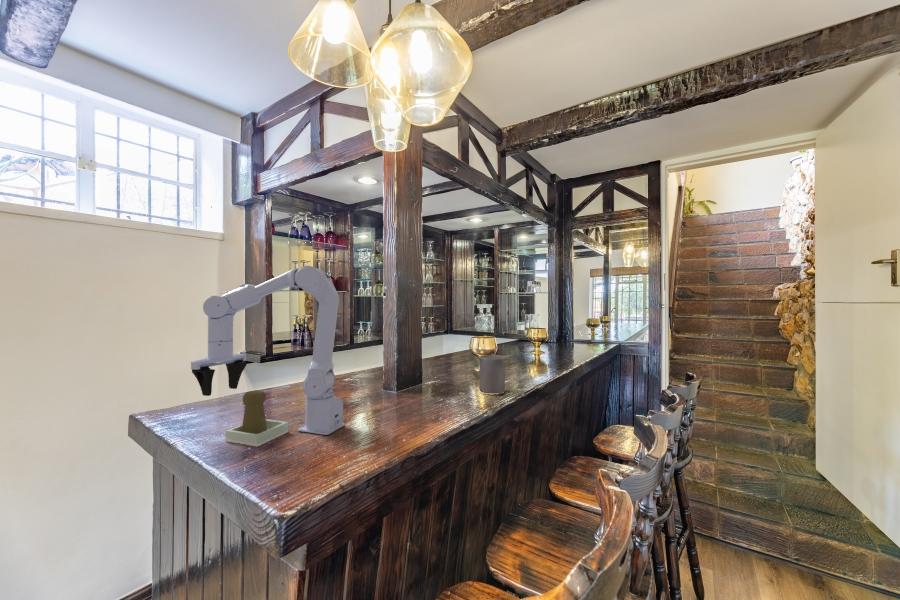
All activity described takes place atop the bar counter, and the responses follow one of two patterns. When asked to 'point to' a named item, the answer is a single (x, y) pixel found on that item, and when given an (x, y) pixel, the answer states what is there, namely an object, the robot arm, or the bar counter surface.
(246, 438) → the tray
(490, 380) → the pillar candle
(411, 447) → the bar counter surface
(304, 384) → the robot arm
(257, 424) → the olive pepper mill
